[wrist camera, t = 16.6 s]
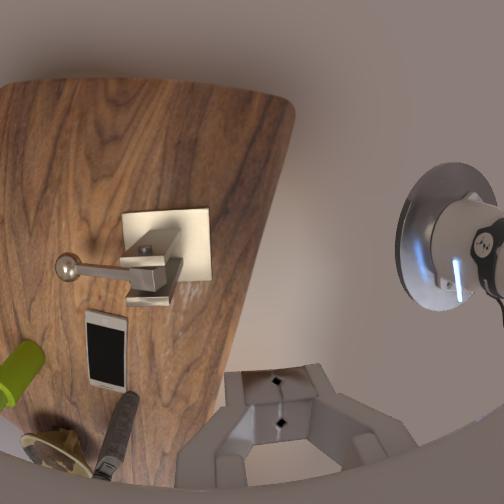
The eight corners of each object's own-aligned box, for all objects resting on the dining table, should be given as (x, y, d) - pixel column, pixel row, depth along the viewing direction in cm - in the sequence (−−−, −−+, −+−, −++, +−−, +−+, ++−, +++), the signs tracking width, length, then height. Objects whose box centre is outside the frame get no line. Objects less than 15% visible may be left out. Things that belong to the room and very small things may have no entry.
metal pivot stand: (131, 280, 42) (97, 328, 28) (124, 212, 39) (80, 233, 25) (212, 277, 43) (211, 327, 29) (208, 207, 41) (204, 225, 26)
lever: (71, 275, 34) (52, 284, 31) (67, 248, 33) (47, 255, 30) (170, 287, 31) (153, 301, 27) (167, 254, 30) (148, 264, 26)
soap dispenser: (20, 330, 42) (-38, 392, 22) (48, 352, 43) (-3, 423, 24) (15, 350, 42) (-37, 411, 23) (41, 371, 44) (-4, 439, 25)
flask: (105, 428, 49) (85, 494, 31) (122, 386, 46) (97, 462, 29) (121, 435, 50) (105, 502, 32) (141, 395, 47) (122, 472, 30)
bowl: (47, 397, 46) (30, 426, 36) (114, 446, 50) (106, 478, 41) (25, 424, 47) (11, 450, 38) (83, 466, 52) (74, 493, 43)
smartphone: (127, 317, 43) (126, 320, 42) (127, 391, 47) (125, 394, 46) (86, 308, 42) (84, 310, 41) (90, 381, 45) (89, 384, 45)
